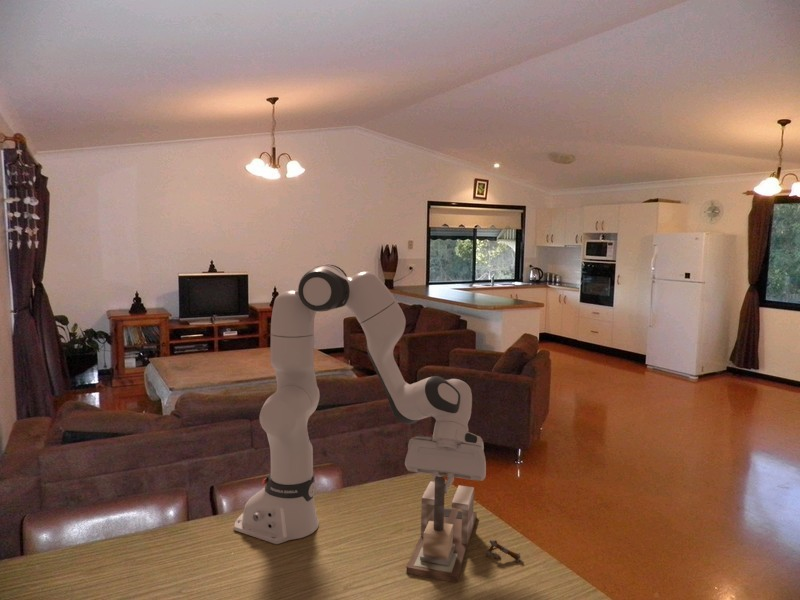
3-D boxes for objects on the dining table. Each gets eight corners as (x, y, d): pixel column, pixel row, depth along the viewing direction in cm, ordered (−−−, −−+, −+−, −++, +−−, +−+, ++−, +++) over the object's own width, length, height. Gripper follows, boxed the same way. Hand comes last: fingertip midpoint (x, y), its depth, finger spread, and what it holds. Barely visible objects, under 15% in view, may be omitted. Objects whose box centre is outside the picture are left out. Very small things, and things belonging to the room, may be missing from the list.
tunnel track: (406, 573, 130) (407, 524, 129) (434, 510, 160) (435, 471, 159) (457, 582, 127) (458, 533, 126) (476, 517, 157) (477, 476, 155)
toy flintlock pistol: (483, 550, 139) (491, 536, 138) (512, 566, 138) (520, 552, 137) (482, 554, 137) (491, 540, 136) (512, 571, 136) (520, 556, 135)
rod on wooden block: (419, 560, 132) (421, 483, 130) (427, 542, 140) (429, 470, 138) (448, 565, 130) (451, 488, 128) (455, 547, 138) (457, 473, 136)
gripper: (408, 429, 144) (397, 481, 136) (488, 438, 138) (481, 493, 130) (412, 439, 149) (401, 490, 140) (489, 449, 143) (483, 502, 135)
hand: (440, 492), depth 135 cm, fingers closed, pressing on rod on wooden block
